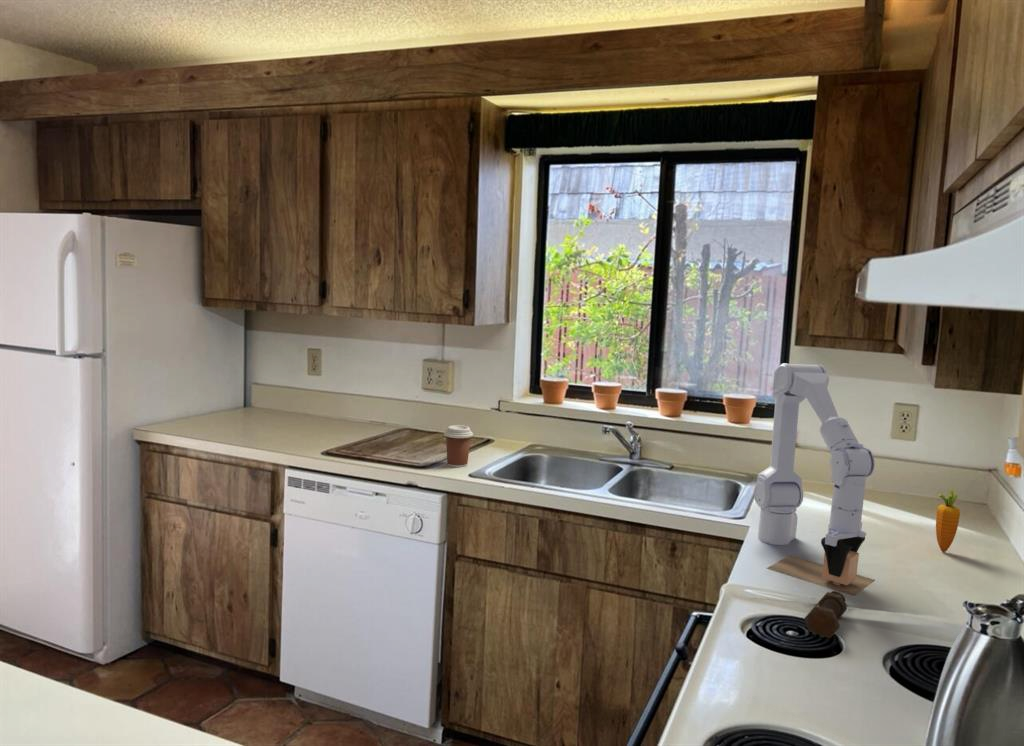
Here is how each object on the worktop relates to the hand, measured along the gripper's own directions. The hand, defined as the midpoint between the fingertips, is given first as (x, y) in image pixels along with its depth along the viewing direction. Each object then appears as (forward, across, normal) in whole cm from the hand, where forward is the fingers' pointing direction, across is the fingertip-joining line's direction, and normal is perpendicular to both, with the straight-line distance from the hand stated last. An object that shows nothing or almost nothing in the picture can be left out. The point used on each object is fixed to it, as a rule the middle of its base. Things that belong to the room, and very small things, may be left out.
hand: (839, 571), depth 155 cm
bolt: (+4, -16, -4) cm, 17 cm away
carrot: (+4, +44, -8) cm, 45 cm away
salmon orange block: (+1, 0, 0) cm, 1 cm away
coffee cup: (+4, +5, +120) cm, 120 cm away
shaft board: (+4, +2, +4) cm, 6 cm away
